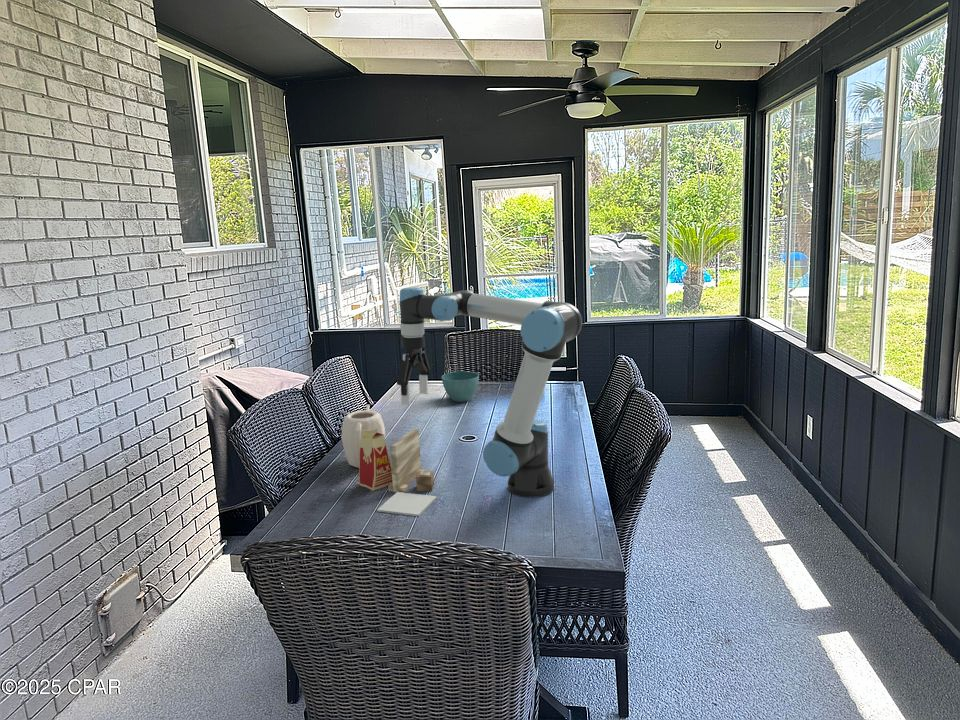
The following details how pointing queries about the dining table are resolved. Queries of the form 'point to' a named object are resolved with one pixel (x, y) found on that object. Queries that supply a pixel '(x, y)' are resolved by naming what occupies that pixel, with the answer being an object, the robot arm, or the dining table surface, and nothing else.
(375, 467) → the milk carton
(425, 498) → the mat
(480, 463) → the dining table surface
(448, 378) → the teal bowl
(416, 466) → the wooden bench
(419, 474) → the walnut cube
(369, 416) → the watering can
